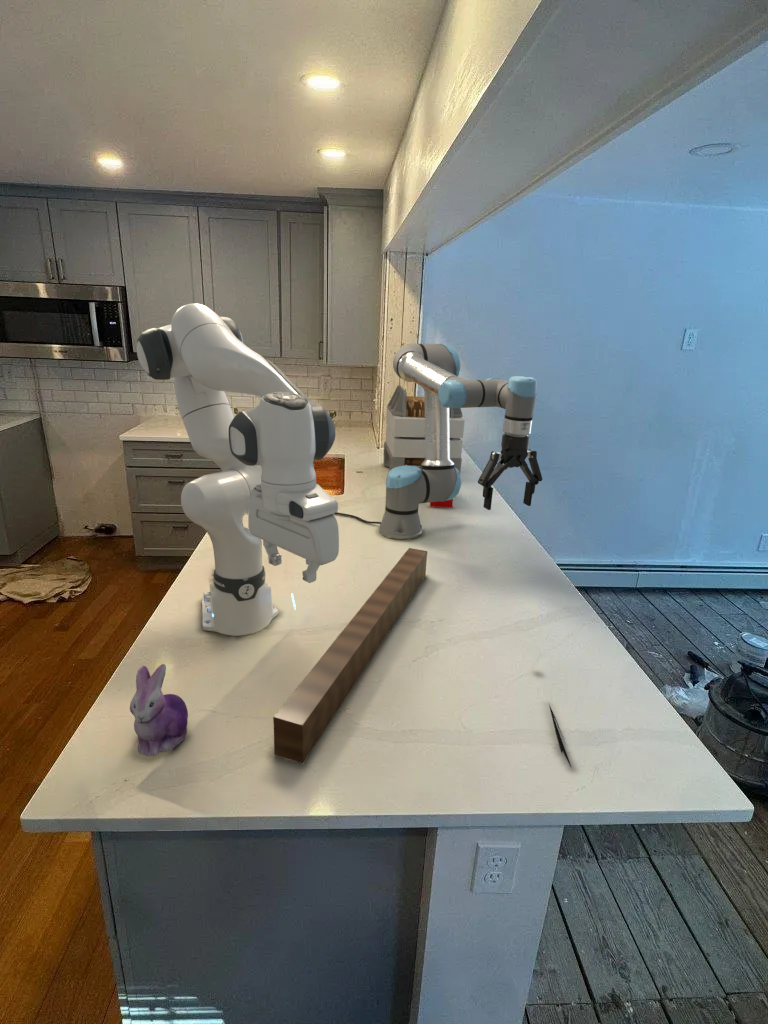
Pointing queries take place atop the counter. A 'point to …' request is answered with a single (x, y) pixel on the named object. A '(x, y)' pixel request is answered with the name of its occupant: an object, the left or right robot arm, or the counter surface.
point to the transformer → (415, 431)
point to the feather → (559, 735)
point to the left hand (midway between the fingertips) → (291, 572)
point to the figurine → (157, 714)
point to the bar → (345, 661)
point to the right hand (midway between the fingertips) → (507, 506)
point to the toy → (442, 503)
